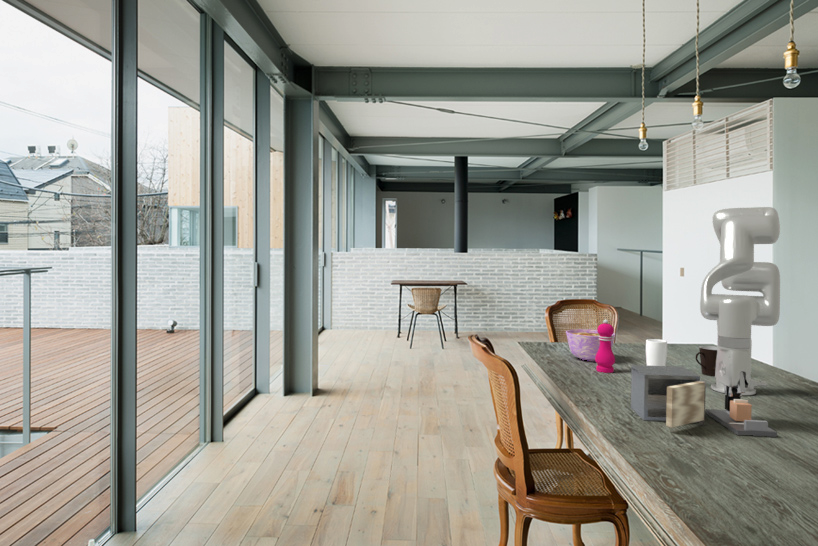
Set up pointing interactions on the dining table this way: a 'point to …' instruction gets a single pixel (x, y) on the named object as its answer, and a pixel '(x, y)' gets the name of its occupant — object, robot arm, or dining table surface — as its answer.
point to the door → (686, 404)
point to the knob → (740, 409)
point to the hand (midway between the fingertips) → (732, 410)
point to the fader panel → (742, 424)
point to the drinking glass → (656, 352)
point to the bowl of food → (585, 343)
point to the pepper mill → (605, 348)
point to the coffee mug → (707, 359)
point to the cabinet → (655, 388)
